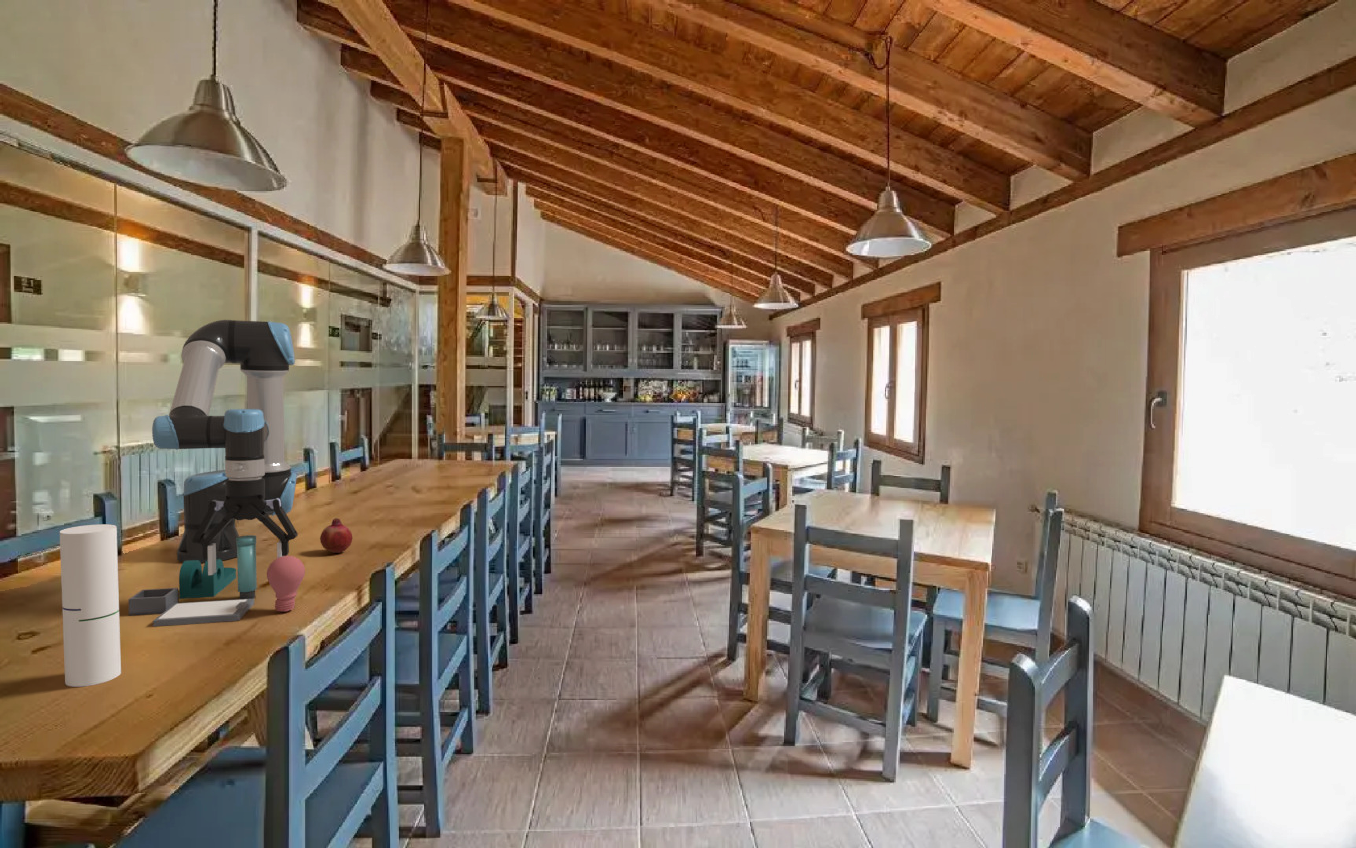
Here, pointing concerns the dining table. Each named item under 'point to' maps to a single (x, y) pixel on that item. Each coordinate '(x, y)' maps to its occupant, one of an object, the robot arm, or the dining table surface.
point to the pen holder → (152, 601)
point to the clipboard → (204, 612)
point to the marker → (246, 566)
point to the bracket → (203, 579)
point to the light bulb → (285, 580)
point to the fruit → (336, 537)
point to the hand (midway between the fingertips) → (246, 572)
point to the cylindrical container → (90, 604)
